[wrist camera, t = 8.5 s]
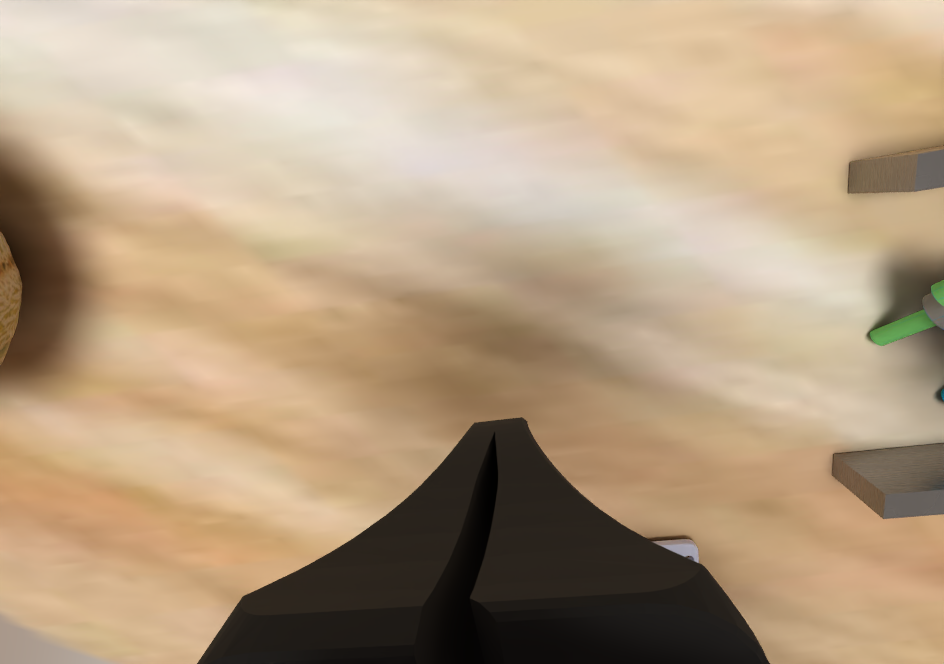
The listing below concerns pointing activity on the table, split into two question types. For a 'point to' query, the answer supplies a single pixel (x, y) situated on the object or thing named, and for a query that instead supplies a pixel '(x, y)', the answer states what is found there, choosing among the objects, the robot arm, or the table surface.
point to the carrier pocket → (907, 468)
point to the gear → (915, 320)
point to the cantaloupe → (8, 297)
